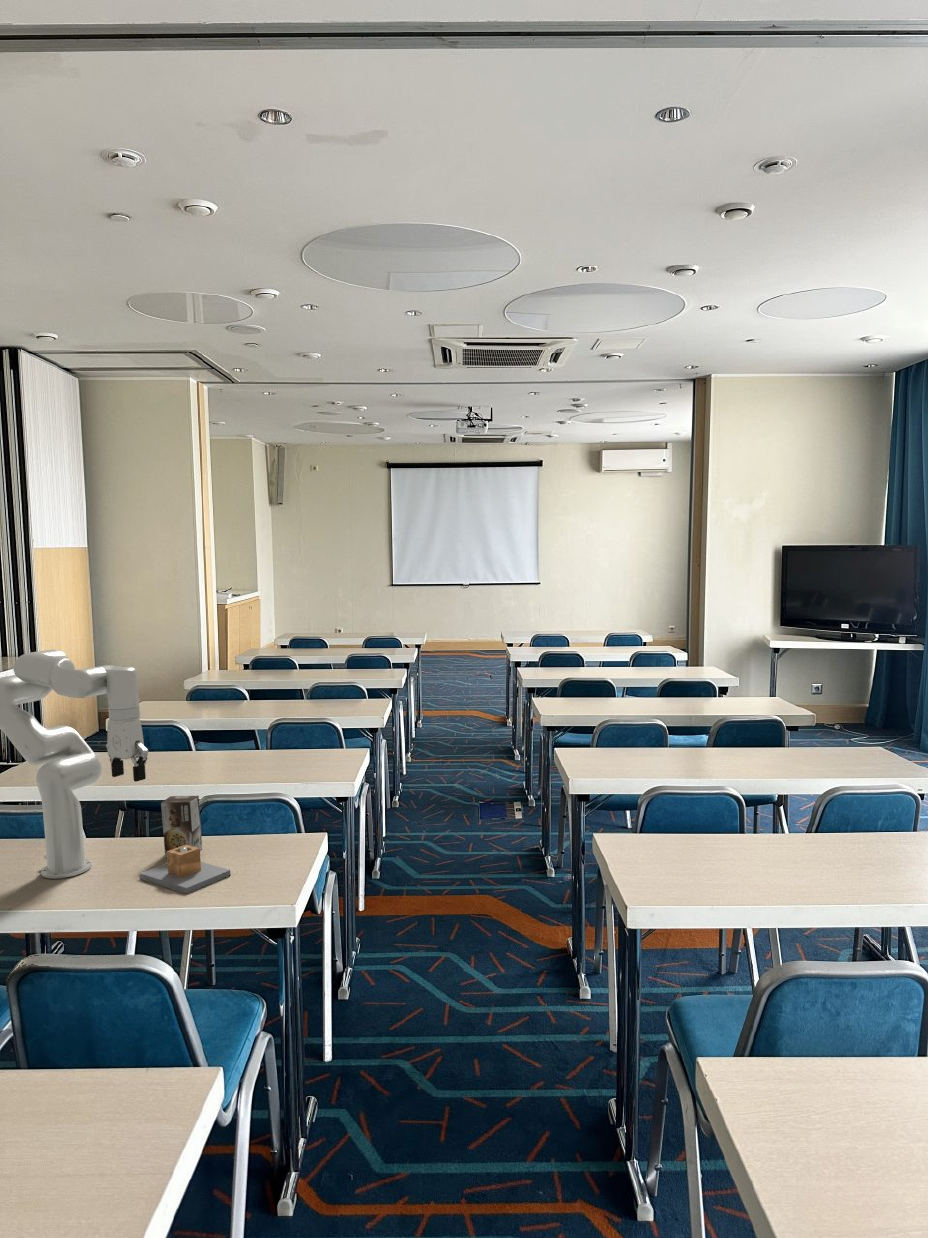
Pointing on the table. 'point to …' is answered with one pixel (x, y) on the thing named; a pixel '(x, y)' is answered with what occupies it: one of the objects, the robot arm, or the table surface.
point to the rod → (183, 849)
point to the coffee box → (181, 822)
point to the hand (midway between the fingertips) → (128, 778)
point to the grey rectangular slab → (188, 882)
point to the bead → (184, 861)
